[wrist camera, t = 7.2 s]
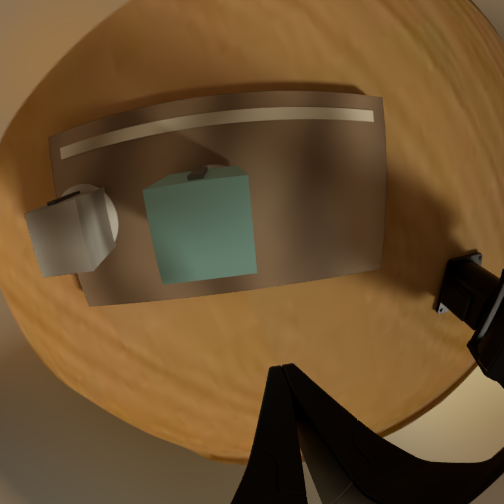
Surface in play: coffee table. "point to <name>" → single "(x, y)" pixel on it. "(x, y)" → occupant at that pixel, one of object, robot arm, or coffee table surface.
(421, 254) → the coffee table surface
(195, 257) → the sage green box
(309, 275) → the board
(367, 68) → the coffee table surface
